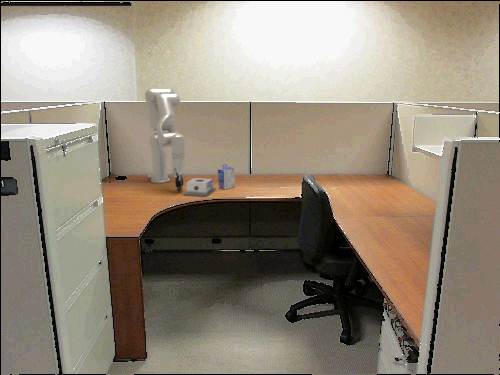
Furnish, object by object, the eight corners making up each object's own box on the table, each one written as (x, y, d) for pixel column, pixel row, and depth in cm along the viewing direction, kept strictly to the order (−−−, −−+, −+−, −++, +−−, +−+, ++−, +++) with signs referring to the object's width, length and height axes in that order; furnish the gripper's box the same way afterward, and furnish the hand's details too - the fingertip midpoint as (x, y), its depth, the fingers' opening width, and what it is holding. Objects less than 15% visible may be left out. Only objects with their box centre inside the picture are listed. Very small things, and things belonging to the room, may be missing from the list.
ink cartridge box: (228, 185, 278) (228, 163, 274) (235, 186, 274) (235, 164, 271) (217, 188, 270) (217, 165, 267) (224, 189, 267) (224, 166, 264)
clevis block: (183, 195, 254) (182, 183, 252) (194, 188, 271) (193, 176, 269) (206, 197, 251) (206, 184, 249) (216, 189, 268) (215, 178, 266)
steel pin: (176, 190, 261) (175, 174, 258) (178, 189, 264) (177, 173, 261) (180, 191, 260) (180, 174, 258) (182, 189, 263) (182, 173, 261)
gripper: (177, 152, 265) (178, 182, 270) (166, 157, 250) (167, 189, 255) (189, 153, 263) (190, 183, 268) (178, 158, 248) (180, 190, 253)
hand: (179, 185), depth 261 cm, fingers closed on steel pin, 3 cm apart
